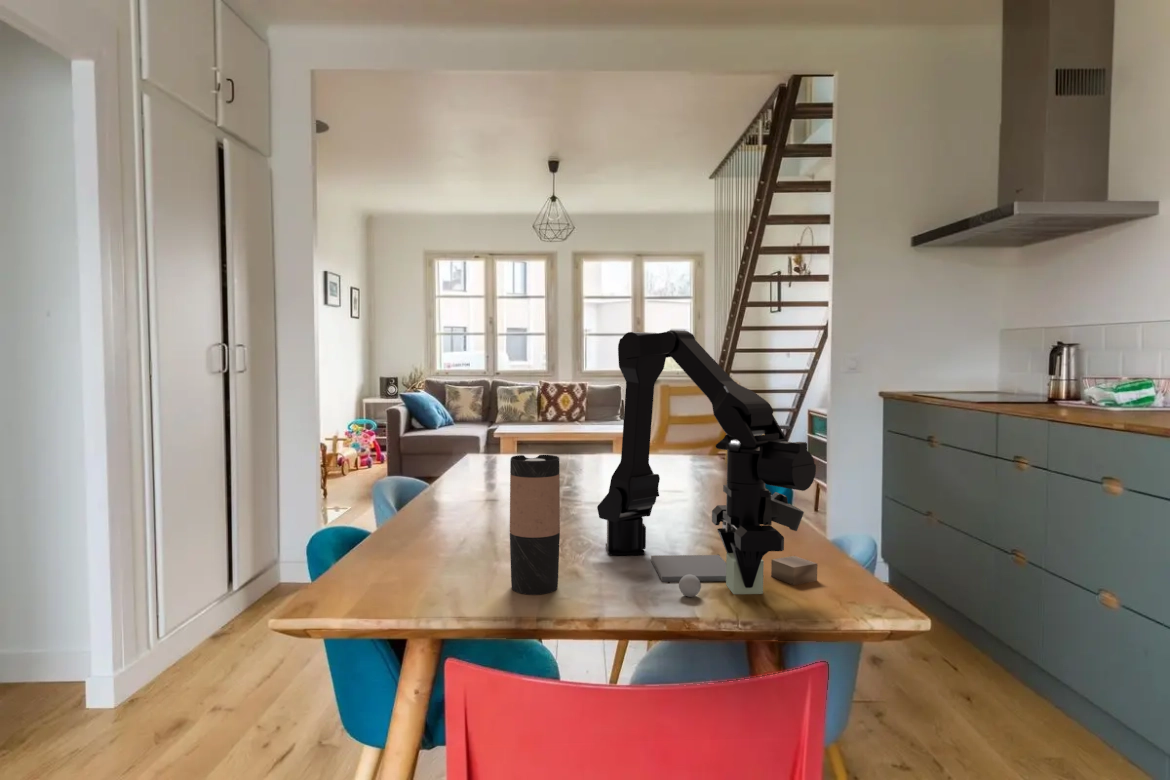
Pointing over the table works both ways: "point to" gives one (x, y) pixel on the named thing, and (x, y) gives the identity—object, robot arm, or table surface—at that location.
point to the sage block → (735, 579)
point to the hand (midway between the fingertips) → (744, 582)
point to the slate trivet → (690, 567)
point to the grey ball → (689, 585)
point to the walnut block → (794, 570)
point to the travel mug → (534, 523)
